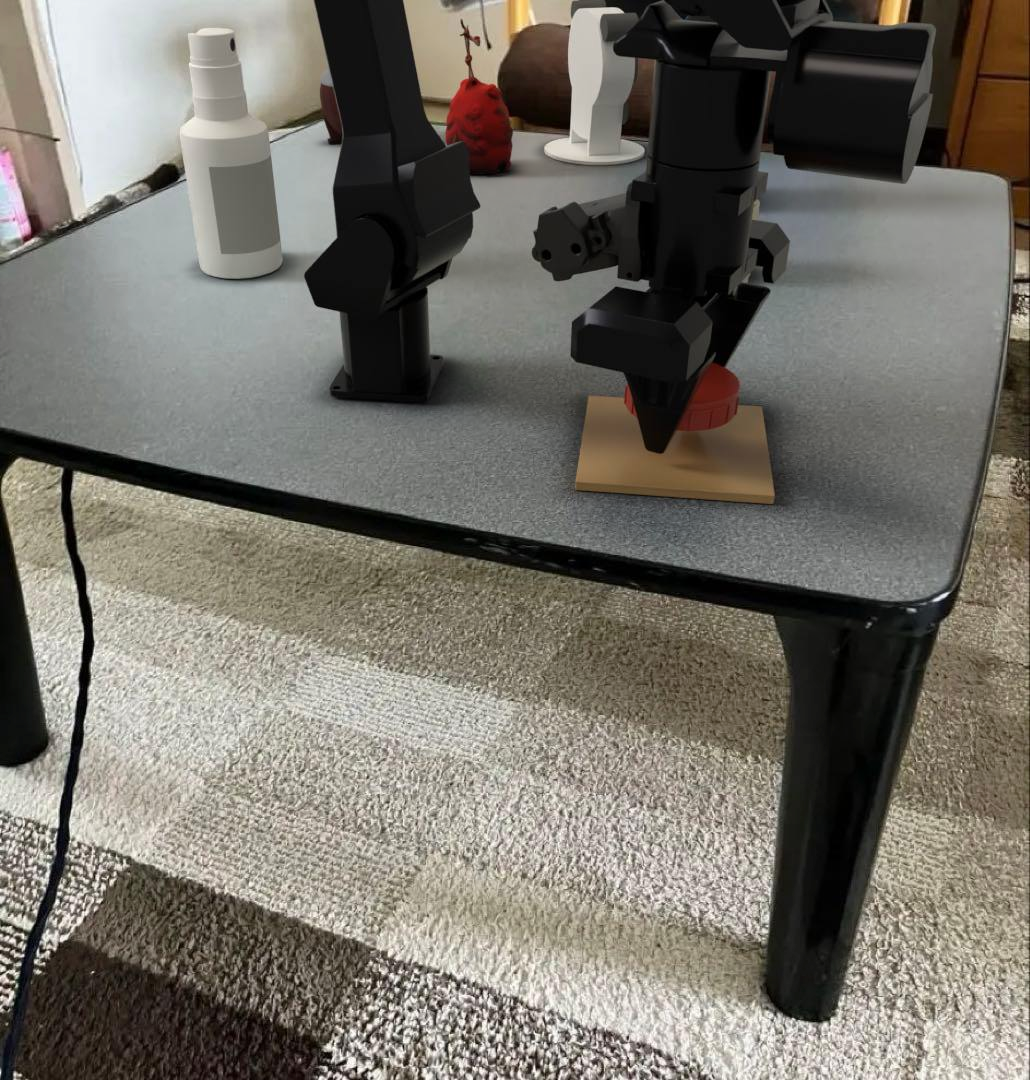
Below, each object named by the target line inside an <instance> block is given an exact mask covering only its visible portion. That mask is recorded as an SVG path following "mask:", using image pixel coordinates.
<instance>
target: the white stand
mask: <svg viewBox="0 0 1030 1080" xmlns="http://www.w3.org/2000/svg"><path fill="white" fill-rule="evenodd" d="M570 18H571V24H570V28H569V36H568V44H567V45H568V46H567V61H568V62H567V64H568V65H567V67H568V74H569V76H568V77H569V81H570V85H571V103H570V105H571V106H570V126H569V137H564V138H563V137H562V138H559V139H555V140H552V141H549V142H548V143H546V144H545V145H544V146H543V147H544V151H543V152H544V154H545V155H546V156H547V157H549V158H551V159H553V160H556V161H559V162H565V163H569V164H577V165H583V166H585V165H586V166H587V165H588V166H612V165H613V166H614V165H622V164H628V163H632V162H635V161H638V160H641V159H642V158H643V157H644V156H645V151H646V150H645V148H644V147H643V146H642V145H641V144H638V143H637V142H634V141H631V140H627V139H623V138H622V128H623V127H622V125H625V124H626V123H627V121H628V119H629V114H630V112H629V103H628V102H627V100H628V99H629V97H630V95H631V92H632V89H633V84H635V83H636V82H637V79H638V73H639V58H631V57H621V56H617V55H616V54H615V53H614V51H613V44H614V42H615V41H616V40H617V39H619V38H620V37H622V36H623V35H624V34H625V33H626V32H627V31H629V30H630V29H631V28H632V27H633V26H634V25H635V24H636V23H637V21H638V20H639V16H638V15H637V13H636V12H624V11H623V10H622V9H621V8H619V7H615V6H614V7H612V6H611V7H607V2H606V0H572V2H571V5H570Z"/></svg>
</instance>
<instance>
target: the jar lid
mask: <svg viewBox="0 0 1030 1080" xmlns="http://www.w3.org/2000/svg"><path fill="white" fill-rule="evenodd" d="M625 384H626V385H625V386H624V387H625V388H624V397H623V398H624V404H626V407H627V409H628V410H629V412H630V413H631V414H632V415H634V416H635V417H636V418H637V415H636V411H635V407H634V403H633V399H632V396H631V392H630V389H629V386H628V384H627V383H625ZM740 387H741V383H740V380H739V378H738V376H737V375H736V374H735V373H734V372H732V371H731V370H730V369H728V368H727V367H726V368H725V367H723V366H721V365H718V364H716V363H713V362H712V363H711V365H710V367H709V369H708V371H707V373H706V375H705V377H704V378H703V380H702V382H701V384H700V386H699V388H698V390H697V392H696V394H695V396H694V398H693V399H692V401H691V403H690V405H689V407H688V409H687V411H686V413H685V415H684V417H683V419H682V421H681V423H680V425H679V427H678V429H677V430H678V431H701V430H709V429H713V428H717V427H720V426H722V425H724V424H726V423H728V422H729V421H731V420H732V418H733V417H734V416H735V415H737V409H738V405H739V402H740V396H739V395H740V394H739V393H740Z"/></svg>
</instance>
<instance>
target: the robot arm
mask: <svg viewBox="0 0 1030 1080" xmlns="http://www.w3.org/2000/svg"><path fill="white" fill-rule="evenodd" d="M313 4H314V8H315V14H316V18H317V23H318V27H319V31H320V36H321V39H322V40H321V41H322V45H323V48H324V49H323V50H324V53H325V57H326V58H325V59H326V61H327V68H328V67H329V71H330V75H331V80H332V84H333V89H334V93H335V97H336V102H337V106H338V111H339V115H340V120H341V124H342V132H343V139H342V143H340V144H341V145H340V150H339V155H338V158H337V159H338V160H337V165H336V171H335V175H334V180H333V185H332V200H333V208H334V209H333V210H334V219H335V220H334V221H335V229H336V230H335V231H336V238H335V239H334V240H333V241H332V242H331V243H330V244H329V246H328V247H326V249H325V250H324V251H323V252H322V253H321V254H320V256H318V257H317V258H316V260H315V261H313V263H312V264H311V265H310V266H309V267H308V268H307V269H306V271H305V272H304V273H303V274H304V275H303V277H304V280H305V283H306V286H307V288H308V291H309V294H310V296H311V299H312V302H313V304H314V306H315V307H317V308H320V309H325V310H330V311H333V312H338V313H339V322H340V332H341V334H340V335H341V345H342V357H343V365H342V366H341V368H340V369H339V370H338V372H337V374H336V376H335V378H334V379H333V381H332V382H331V384H330V386H329V388H328V390H329V395H330V396H331V397H333V398H334V397H335V398H346V399H347V398H349V399H363V400H367V399H368V400H380V401H398V402H410V403H412V402H413V403H423V402H427V401H428V400H429V398H430V396H431V394H432V391H433V390H434V387H435V385H436V382H437V380H438V378H439V376H440V373H441V371H442V368H443V366H444V356H443V355H439V354H431V344H430V343H431V339H430V337H431V336H430V313H429V312H430V311H429V310H430V309H429V290H428V287H429V286H430V285H432V284H434V283H435V282H437V281H439V280H443V279H445V278H446V277H447V276H448V275H449V271H450V268H451V265H452V261H453V259H454V257H456V256H457V255H458V254H460V253H462V251H463V249H464V248H465V246H466V245H467V243H468V241H469V240H470V239H471V238H472V235H473V230H474V214H473V213H474V212H476V211H478V210H479V209H480V208H481V202H479V199H478V197H477V195H476V194H475V191H474V188H473V184H472V180H471V173H470V164H469V152H468V149H467V146H466V143H465V142H463V141H460V142H457V143H454V144H451V145H448V146H447V144H445V143H446V142H444V141H443V139H442V138H441V136H440V135H439V133H438V132H437V130H435V128H434V126H433V125H432V123H431V122H430V121H429V118H428V117H427V112H426V110H425V108H424V101H423V97H422V91H421V86H420V80H419V76H418V69H417V66H416V61H415V55H414V50H413V49H414V48H413V45H412V39H411V35H410V34H411V33H410V29H409V23H408V18H407V13H406V8H405V3H404V0H313ZM675 10H676V11H677V12H679V13H681V14H683V15H684V14H685V15H687V16H689V15H690V16H708V15H709V16H710V17H711V18H712V19H713V20H714V21H715V22H716V23H713V22H701V21H689V20H685V19H683V18H682V17H681V16H679V14H678V13H677V12H676V11H675ZM936 35H937V28H936V26H935V24H933V23H925V22H924V23H922V22H900V23H896V24H876V23H875V24H874V23H861V22H849V21H837V20H834V16H833V12H832V11H831V8H830V6H829V4H828V2H827V1H826V0H659V1H656V2H654V3H651V4H648V5H647V6H646V7H645V9H644V11H643V13H642V14H641V16H640V17H639V18H638V21H637V23H636V24H635V25H634V26H633V27H632V28H631V29H630V30H629V31H627V32H626V33H625V34H624V35H623V36H622V37H620V38H619V39H617V40H616V41H615V42H614V44H613V51H614V53H615V54H616V55H617V56H621V57H631V58H638V59H641V60H652V61H653V73H652V74H653V75H652V89H651V99H650V100H651V101H650V115H649V127H648V128H649V129H648V141H647V142H648V143H647V153H646V166H645V171H643V173H641V174H640V175H638V176H636V177H635V178H633V179H632V181H631V182H629V183H628V185H627V188H626V192H624V193H620V194H616V195H612V196H608V197H603V198H599V199H595V200H591V201H587V202H583V203H578V202H576V201H571V202H570V203H568V204H566V205H564V206H562V207H559V208H558V207H557V206H551V207H550V208H548V209H546V210H545V211H542V212H541V213H540V214H539V215H538V218H537V219H538V220H537V227H536V228H535V230H533V231H532V232H533V233H532V235H533V237H534V240H535V241H534V242H535V244H534V246H533V247H532V249H531V256H532V258H533V260H534V261H536V262H538V263H539V264H540V266H541V267H542V268H543V269H544V270H545V271H547V273H550V274H551V276H552V279H553V281H554V282H563V281H569V280H571V279H572V278H573V276H575V275H576V276H577V275H581V274H585V273H586V274H587V273H590V272H596V271H601V270H605V269H606V270H607V269H611V268H614V267H617V274H616V276H617V277H616V278H617V279H618V280H619V279H620V280H624V281H630V282H635V283H638V282H640V281H641V280H642V281H648V283H647V286H648V288H647V290H646V291H643V290H637V289H632V288H627V287H622V286H617V285H616V286H615V287H613V288H612V289H610V291H608V292H607V293H605V294H604V295H603V296H602V297H601V298H599V299H598V300H597V301H596V302H595V303H593V304H592V305H591V306H589V307H588V308H587V309H586V310H585V311H583V312H582V313H581V314H580V315H578V316H577V317H575V319H573V320H572V321H571V332H570V333H571V335H570V358H571V359H572V360H573V361H574V362H575V363H577V364H582V365H586V366H591V367H595V368H601V369H604V370H609V371H610V370H611V371H613V372H619V373H622V374H623V376H624V377H625V380H626V384H628V386H629V389H630V392H631V396H632V399H633V403H634V407H635V411H636V415H637V419H638V422H639V426H640V430H641V434H642V438H643V442H644V446H645V448H646V450H647V451H650V452H654V453H658V454H663V453H664V452H665V451H666V449H667V447H668V445H669V444H670V442H671V440H672V438H673V436H674V434H675V432H676V430H677V429H678V427H679V425H680V423H681V421H682V419H683V417H684V415H685V413H686V411H687V409H688V407H689V405H690V403H691V401H692V399H693V398H694V396H695V394H696V392H697V390H698V388H699V386H700V384H701V382H702V380H703V378H704V377H705V375H706V373H707V371H708V369H709V367H710V365H711V363H712V362H713V363H716V364H718V365H721V366H723V367H725V368H726V369H727V366H728V364H729V363H730V361H731V359H732V358H733V356H734V355H735V353H736V351H737V350H738V348H739V346H740V345H741V343H742V341H743V339H744V337H745V336H746V335H747V333H748V331H749V329H750V327H751V326H752V324H753V322H754V321H755V319H756V318H757V316H758V314H759V313H760V311H761V310H762V307H763V306H764V304H765V303H766V301H767V300H768V299H769V297H770V295H771V291H772V290H771V288H769V287H767V286H765V285H759V284H754V283H749V278H750V277H749V273H750V272H751V273H752V272H753V271H754V270H755V268H756V267H762V271H761V275H762V279H763V280H762V281H763V283H767V284H773V285H774V284H775V283H776V282H777V281H778V280H779V279H780V277H781V276H782V275H783V274H785V272H787V271H786V270H787V264H788V257H789V250H790V245H791V240H790V239H789V237H788V236H787V234H786V233H785V232H784V231H783V229H782V228H781V226H780V225H779V223H777V222H772V221H771V222H770V221H765V220H759V219H758V220H752V216H753V209H754V202H755V201H756V200H757V199H758V200H759V198H761V197H762V196H763V195H764V194H765V193H766V192H767V186H768V185H767V184H768V179H769V172H768V171H760V170H759V169H760V161H761V153H762V146H763V138H764V132H765V125H766V124H765V123H766V117H767V129H766V130H767V131H766V132H767V139H768V143H769V144H770V145H772V152H773V155H775V156H783V159H784V160H783V161H784V163H785V166H786V168H787V169H788V170H796V171H803V172H810V173H818V174H819V173H820V174H825V175H833V176H840V177H848V178H856V179H862V180H870V181H877V182H885V183H886V182H887V183H893V184H899V185H906V184H907V183H908V181H909V180H910V178H911V176H912V174H913V171H914V168H915V165H916V163H917V160H918V157H919V153H920V152H921V147H922V144H923V140H924V136H925V133H926V128H927V125H928V121H929V118H930V117H929V116H930V112H931V108H932V102H933V99H934V98H933V96H934V93H930V90H931V83H932V75H933V61H934V60H933V59H934V58H933V48H934V44H935V39H936ZM772 72H775V75H774V81H773V87H772V92H771V96H770V101H769V107H768V100H769V93H770V86H771V78H772ZM767 107H768V108H767ZM767 109H768V114H767ZM766 115H767V116H766ZM748 277H749V278H748Z"/></svg>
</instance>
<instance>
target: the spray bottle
mask: <svg viewBox="0 0 1030 1080" xmlns="http://www.w3.org/2000/svg"><path fill="white" fill-rule="evenodd" d="M187 39H188V47H189V54H190V55H189V61H190V62H189V63H188V68H189V75H190V82H191V89H192V93H191V97H192V104H193V110H194V116H193V117H191V118H190V119H189V120H187V122H185V123H184V124H182V125H181V127H180V128H179V140H180V147H181V154H182V159H183V167H184V174H185V179H186V185H187V186H186V187H187V192H188V198H189V205H190V211H191V212H190V213H191V218H192V224H193V230H194V236H195V243H196V249H197V255H198V262H199V263H198V264H199V267H200V269H201V271H202V272H204V274H206V275H208V276H212V277H215V278H220V279H233V280H234V279H235V280H236V279H237V280H241V279H250V278H251V279H253V278H256V277H261V276H264V275H265V276H266V275H267V274H268V275H269V274H270V273H273V272H274V271H276V270H278V269H279V268H280V267H281V265H282V264H283V262H284V261H283V260H284V259H283V249H282V241H281V232H280V231H281V230H280V223H279V215H278V205H277V195H276V188H275V186H276V185H275V179H274V177H275V176H274V170H273V169H274V168H273V161H272V150H271V142H270V141H271V140H270V134H269V133H270V132H269V129H268V127H267V124H266V123H265V122H264V121H262V120H260V118H257V117H255V116H253V115H252V114H250V113H249V108H248V101H247V93H246V90H245V86H244V77H243V76H244V75H243V69H242V67H243V66H242V61H240V60H239V55H238V52H237V45H236V36H235V31H234V30H233V29H231V28H225V27H202V28H200V29H199V30H197V31H196V32H189V33H188V32H187Z"/></svg>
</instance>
